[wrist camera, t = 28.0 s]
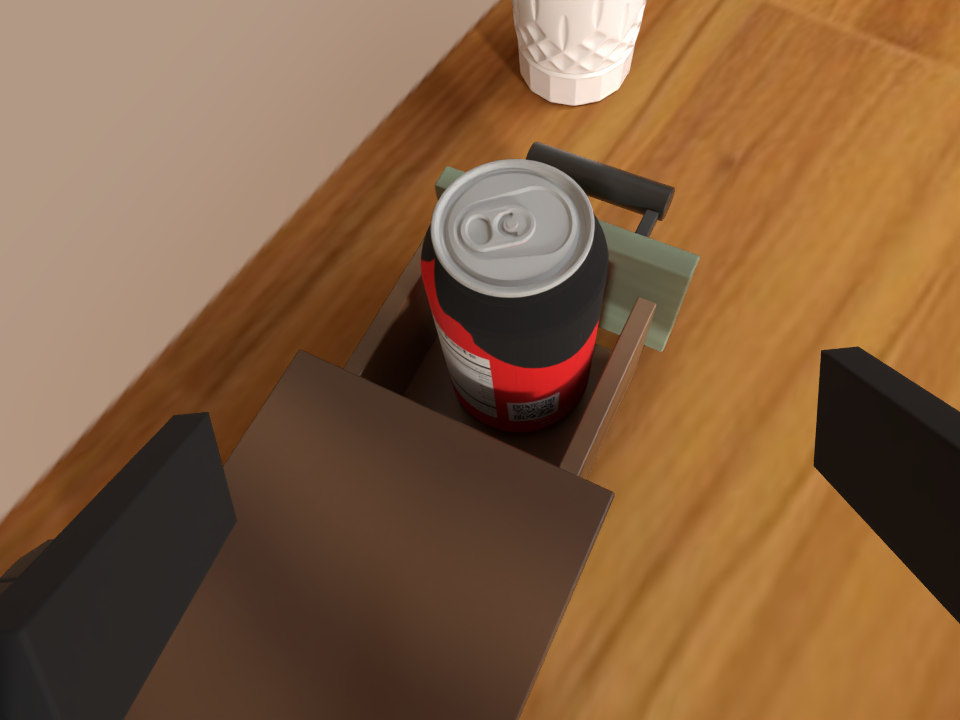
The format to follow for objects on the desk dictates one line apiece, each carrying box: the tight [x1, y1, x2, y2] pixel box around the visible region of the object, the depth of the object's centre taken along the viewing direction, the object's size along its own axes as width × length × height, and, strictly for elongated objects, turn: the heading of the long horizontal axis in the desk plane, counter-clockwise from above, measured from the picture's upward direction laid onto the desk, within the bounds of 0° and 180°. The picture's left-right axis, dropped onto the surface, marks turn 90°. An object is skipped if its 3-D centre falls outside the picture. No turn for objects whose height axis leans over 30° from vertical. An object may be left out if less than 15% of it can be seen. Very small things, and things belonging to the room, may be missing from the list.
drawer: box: [343, 142, 700, 480], centre depth 31 cm, size 19×12×7 cm, turn 153°
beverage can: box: [421, 159, 609, 432], centre depth 27 cm, size 6×6×12 cm
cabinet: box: [124, 350, 614, 720], centre depth 26 cm, size 16×13×9 cm
